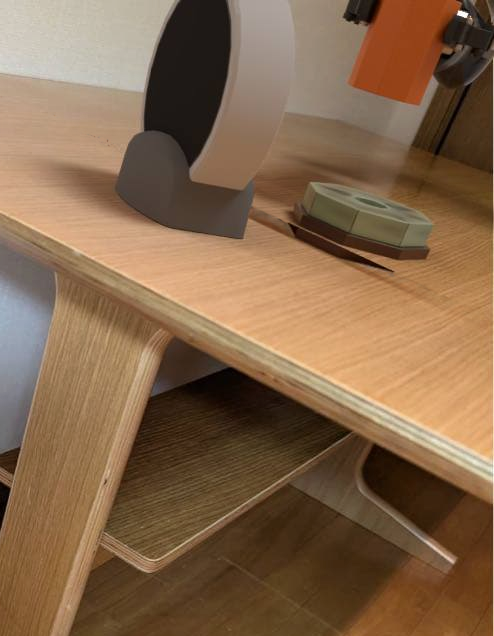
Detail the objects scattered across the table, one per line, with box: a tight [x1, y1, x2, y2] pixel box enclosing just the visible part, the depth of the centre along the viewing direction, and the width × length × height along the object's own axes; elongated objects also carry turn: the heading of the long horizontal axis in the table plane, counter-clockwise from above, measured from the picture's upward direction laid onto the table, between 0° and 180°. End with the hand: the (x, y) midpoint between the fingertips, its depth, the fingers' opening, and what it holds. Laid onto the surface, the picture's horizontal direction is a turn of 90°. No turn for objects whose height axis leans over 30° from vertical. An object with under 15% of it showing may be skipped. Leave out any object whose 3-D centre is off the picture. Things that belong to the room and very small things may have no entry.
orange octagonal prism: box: [347, 0, 462, 106], centre depth 73 cm, size 6×6×8 cm
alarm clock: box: [115, 0, 296, 240], centre depth 66 cm, size 16×10×18 cm, turn 18°
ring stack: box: [288, 181, 435, 273], centre depth 75 cm, size 12×12×4 cm
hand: (408, 17), depth 70 cm, fingers closed on orange octagonal prism, 7 cm apart
